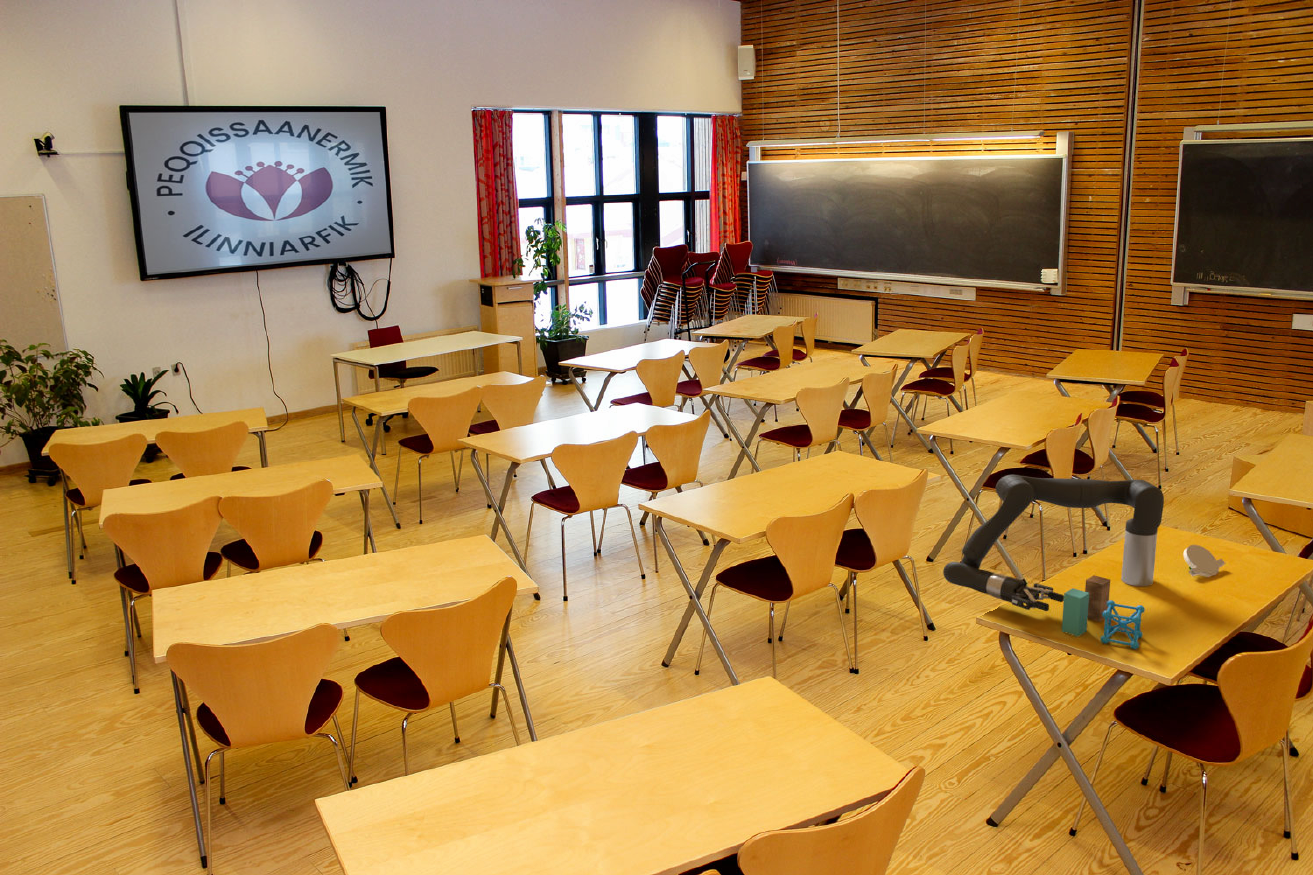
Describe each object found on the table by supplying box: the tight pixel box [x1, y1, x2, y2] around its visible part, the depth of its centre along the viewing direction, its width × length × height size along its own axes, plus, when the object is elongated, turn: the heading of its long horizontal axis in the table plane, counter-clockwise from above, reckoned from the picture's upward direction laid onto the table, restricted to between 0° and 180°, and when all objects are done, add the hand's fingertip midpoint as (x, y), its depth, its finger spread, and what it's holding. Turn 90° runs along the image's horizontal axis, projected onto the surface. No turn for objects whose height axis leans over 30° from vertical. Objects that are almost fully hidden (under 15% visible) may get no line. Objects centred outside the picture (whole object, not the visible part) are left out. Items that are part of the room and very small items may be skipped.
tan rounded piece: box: [1183, 544, 1226, 578], centre depth 328 cm, size 15×8×11 cm, turn 118°
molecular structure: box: [1100, 599, 1146, 650], centre depth 284 cm, size 10×10×10 cm
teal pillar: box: [1061, 587, 1089, 637], centre depth 291 cm, size 5×5×12 cm
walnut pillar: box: [1084, 574, 1111, 623], centre depth 299 cm, size 5×5×12 cm
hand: (1055, 603), depth 295 cm, fingers open, 8 cm apart
